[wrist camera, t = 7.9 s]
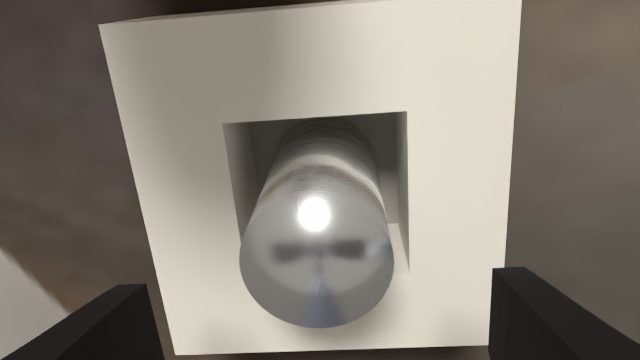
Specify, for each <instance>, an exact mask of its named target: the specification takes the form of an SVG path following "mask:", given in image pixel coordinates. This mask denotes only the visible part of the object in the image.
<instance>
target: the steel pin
mask: <svg viewBox="0 0 640 360" xmlns="http://www.w3.org/2000/svg"><path fill="white" fill-rule="evenodd" d="M239 265H240V271H241V276H242V279H243V281H244V284H245V286H246V288H247V290H248V291H249V293H250V294H251V296H252V297H253V298H254V300H255V301H256V302H257V303H258V304H259V305H260V306H261V307H262V308H263V309H265V310H266V311H267V312H268V313H270V314H271V315H273V316H275V317H276V318H278V319H280V320H282V321H285V322H287V323H290V324H293V325H297V326H301V327H307V328H331V327H336V326H341V325H344V324H347V323H350V322H352V321H354V320H357V319H359V318H360V317H362V316H364V315H365V314H367V313H368V312H369V311H370V310H372V309H373V308H374V307H375V306H376V305H377V304H378V303H379V302H380V300H381V299H382V298H383V296H384V295H385V293H386V291H387V290H388V288H389V285H390V283H391V280H392V276H393V271H394V254H393V248H392V243H391V238H390V233H389V228H388V223H387V218H386V213H385V208H384V203H383V197H382V192H381V187H380V182H379V177H378V172H377V167H376V162H375V157H374V153H373V149H372V146H371V144H370V142H369V140H368V139H367V137H366V136H365V135H364V133H363V132H362V131H361V130H360V129H359V128H358V127H356V126H355V125H354V124H352V123H350V122H348V121H346V120H344V119H341V118H337V117H332V116H327V117H313V118H309V119H307V120H304V121H302V122H300V123H298V124H297V125H295V126H294V127H293V128H292V129H291V130H290V131H289V132H288V133H287V134H286V135H285V137H284V138H283V140H282V141H281V143H280V146H279V148H278V151H277V153H276V156H275V158H274V161H273V163H272V166H271V169H270V171H269V174H268V176H267V179H266V181H265V184H264V186H263V189H262V191H261V194H260V196H259V199H258V201H257V204H256V206H255V209H254V211H253V214H252V217H251V219H250V222H249V224H248V227H247V229H246V232H245V234H244V237H243V239H242V242H241V247H240V252H239Z"/></svg>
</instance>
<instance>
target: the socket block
mask: <svg viewBox="0 0 640 360" xmlns="http://www.w3.org/2000/svg"><path fill="white" fill-rule="evenodd" d="M521 3H522V0H340V1H328V2H316V3H304V4H292V5H280V6H268V7H256V8H244V9H232V10H220V11H208V12H196V13H184V14H172V15H160V16H153V17H146V18H140V19H133V20H127V21H120V22H114V23H107V24H101V25H99V29H100V34H101V38H102V42H103V47H104V51H105V55H106V59H107V64H108V68H109V72H110V77H111V81H112V85H113V89H114V94H115V98H116V102H117V107H118V111H119V115H120V119H121V124H122V128H123V132H124V137H125V141H126V145H127V149H128V154H129V158H130V162H131V167H132V171H133V175H134V179H135V184H136V188H137V192H138V196H139V201H140V205H141V209H142V214H143V218H144V222H145V226H146V231H147V235H148V239H149V244H150V248H151V252H152V256H153V261H154V265H155V269H156V274H157V278H158V282H159V286H160V291H161V295H162V299H163V304H164V308H165V312H166V316H167V321H168V325H169V329H170V334H171V338H172V342H173V346H174V351H175V355H196V354H227V353H258V352H289V351H319V350H350V349H381V348H412V347H443V346H474V345H488V342H489V323H490V304H491V286H492V268H504V262H505V246H506V231H507V216H508V201H509V186H510V170H511V155H512V140H513V125H514V110H515V94H516V79H517V64H518V49H519V34H520V18H521ZM327 116H332V117H337V118H341V119H344V120H346V121H348V122H350V123H352V124H354V125H355V126H356V127H358V128H359V129H360V130H361V131H362V132H363V133H364V135H365V136H366V137H367V139H368V140H369V142H370V144H371V146H372V149H373V153H374V157H375V162H376V167H377V172H378V177H379V182H380V187H381V192H382V197H383V203H384V208H385V213H386V218H387V223H388V228H389V233H390V238H391V243H392V248H393V254H394V271H393V276H392V280H391V283H390V285H389V288H388V290H387V291H386V293H385V295H384V296H383V298H382V299H381V300H380V302H379V303H378V304H377V305H376V306H375V307H374V308H373V309H372V310H370V311H369V312H368V313H367V314H365V315H364V316H362V317H360V318H359V319H357V320H354V321H352V322H350V323H347V324H344V325H341V326H336V327H331V328H307V327H301V326H297V325H293V324H290V323H287V322H285V321H282V320H280V319H278V318H276V317H275V316H273V315H271V314H270V313H268V312H267V311H266V310H265V309H263V308H262V307H261V306H260V305H259V304H258V303H257V302H256V301H255V300H254V298H253V297H252V296H251V294H250V293H249V291H248V290H247V288H246V286H245V284H244V281H243V279H242V276H241V271H240V265H239V252H240V247H241V242H242V239H243V237H244V234H245V232H246V229H247V227H248V224H249V222H250V219H251V217H252V214H253V211H254V209H255V206H256V204H257V201H258V199H259V196H260V194H261V191H262V189H263V186H264V184H265V181H266V179H267V176H268V174H269V171H270V169H271V166H272V163H273V161H274V158H275V156H276V153H277V151H278V148H279V146H280V143H281V141H282V140H283V138H284V137H285V135H286V134H287V133H288V132H289V131H290V130H291V129H292V128H293V127H294V126H295V125H297V124H298V123H300V122H302V121H304V120H307V119H309V118H313V117H327Z"/></svg>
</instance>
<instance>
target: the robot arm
mask: <svg viewBox="0 0 640 360" xmlns="http://www.w3.org/2000/svg"><path fill="white" fill-rule="evenodd" d="M488 352H489V355H490V359H491V360H640V344H638V343H636V342H635V341H633V340H631V339H630V338H628V337H627V336H625V335H624V334H622V333H621V332H619V331H617V330H616V329H614V328H613V327H611V326H610V325H608V324H607V323H605V322H604V321H602V320H601V319H599V318H598V317H596V316H595V315H593V314H592V313H590V312H589V311H587V310H586V309H584V308H583V307H581V306H580V305H579V304H577V303H576V302H574V301H573V300H571V299H570V298H569V297H567V296H566V295H564V294H563V293H561V292H560V291H559V290H557V289H556V288H554V287H553V286H551V285H550V284H549V283H547V282H546V281H544V280H543V279H541V278H540V277H539V276H537V275H536V274H534V273H533V272H531V271H530V270H528V269H526V268H525V267H507V268H492V286H491V304H490V323H489V342H488ZM1 360H165V359H164V355H163V351H162V347H161V343H160V339H159V335H158V331H157V327H156V323H155V319H154V315H153V310H152V306H151V302H150V298H149V294H148V290H147V286H146V284H127V285H117V286H115V287H114V288H112V289H110V290H108V291H106V292H105V293H103V294H101V295H100V296H98V297H97V298H95V299H93V300H92V301H90V302H89V303H87V304H86V305H84V306H83V307H81V308H80V309H78V310H77V311H75V312H74V313H72V314H71V315H69V316H68V317H66V318H65V319H63V320H62V321H60V322H59V323H57V324H56V325H54V326H53V327H51V328H50V329H48V330H47V331H45V332H44V333H42V334H41V335H39V336H38V337H36V338H35V339H33V340H31V341H30V342H28V343H27V344H25V345H24V346H22V347H20V348H19V349H17V350H16V351H14V352H12V353H11V354H9V355H8V356H6V357H5V358H3V359H1Z"/></svg>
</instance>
